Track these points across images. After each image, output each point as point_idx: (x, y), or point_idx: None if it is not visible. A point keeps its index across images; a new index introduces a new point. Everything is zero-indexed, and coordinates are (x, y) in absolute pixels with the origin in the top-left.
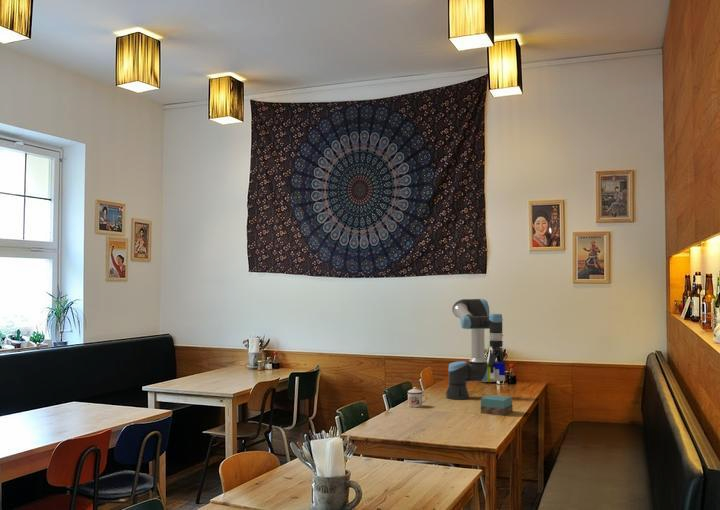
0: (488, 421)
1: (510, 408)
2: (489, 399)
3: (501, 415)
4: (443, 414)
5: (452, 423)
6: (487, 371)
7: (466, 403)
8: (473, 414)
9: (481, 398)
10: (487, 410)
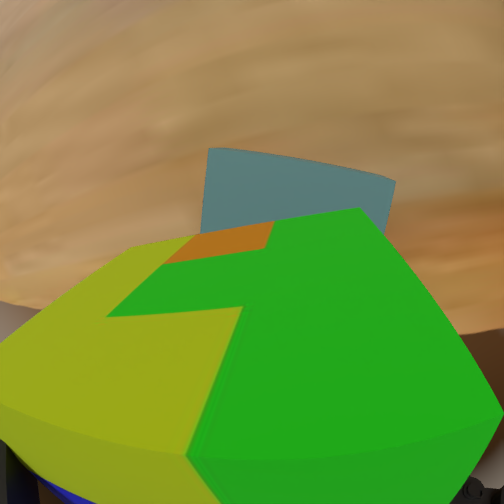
0: (84, 230)
1: None
2: (202, 216)
3: None
4: (131, 9)
5: (18, 123)
6: (57, 300)
7: (461, 35)
8: (182, 121)
9: (208, 153)
10: None
